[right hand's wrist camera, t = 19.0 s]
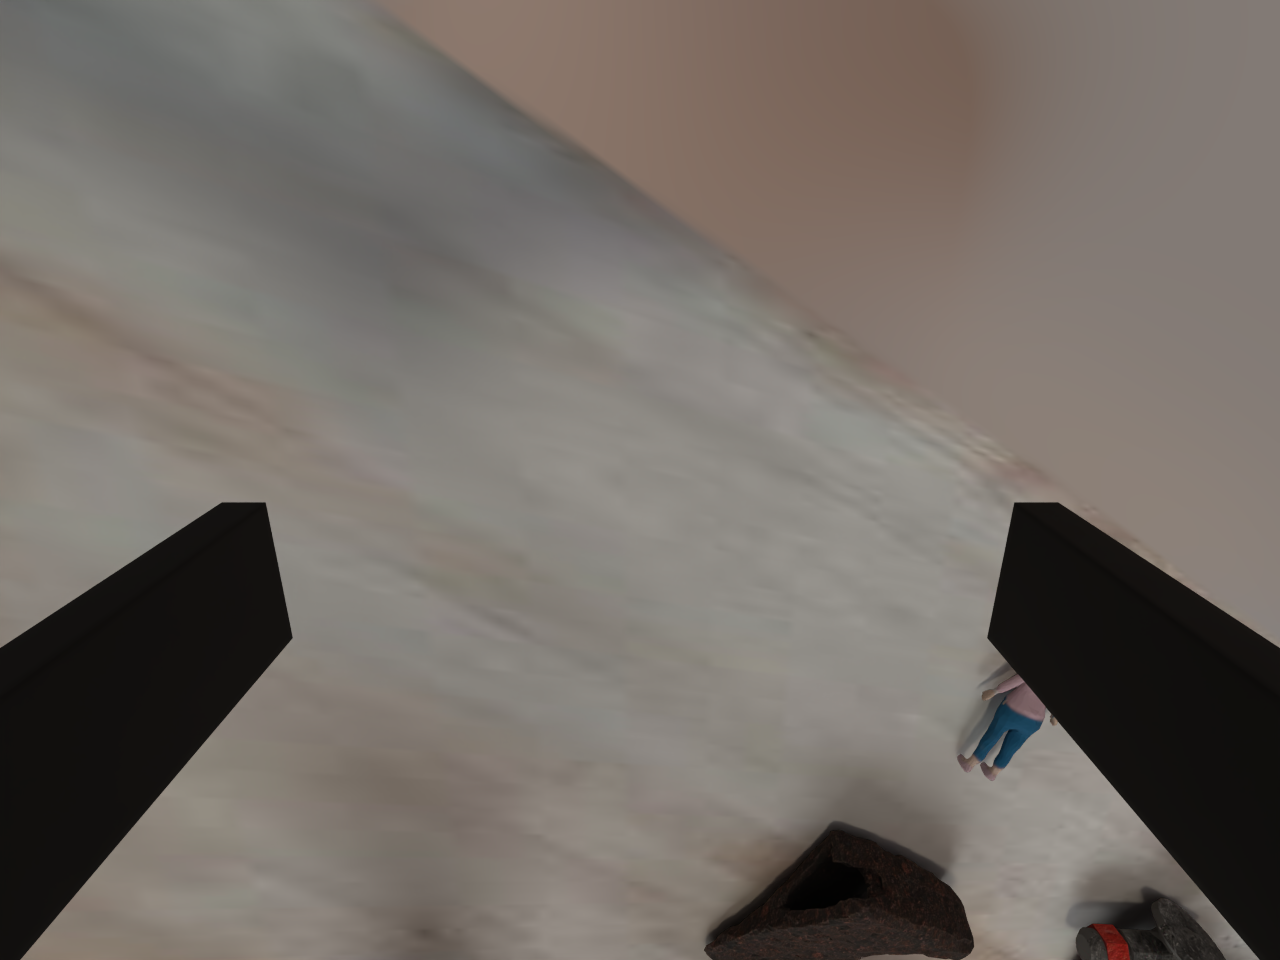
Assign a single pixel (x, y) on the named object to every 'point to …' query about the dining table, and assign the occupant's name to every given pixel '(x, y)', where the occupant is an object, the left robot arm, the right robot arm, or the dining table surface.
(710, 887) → the dining table surface
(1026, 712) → the figurine
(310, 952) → the dining table surface
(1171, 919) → the valve
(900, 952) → the axe head
